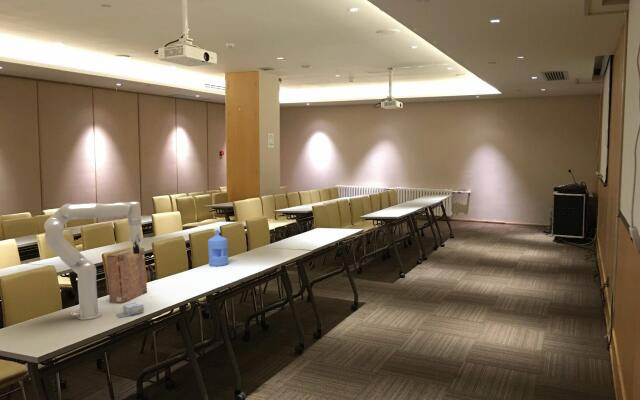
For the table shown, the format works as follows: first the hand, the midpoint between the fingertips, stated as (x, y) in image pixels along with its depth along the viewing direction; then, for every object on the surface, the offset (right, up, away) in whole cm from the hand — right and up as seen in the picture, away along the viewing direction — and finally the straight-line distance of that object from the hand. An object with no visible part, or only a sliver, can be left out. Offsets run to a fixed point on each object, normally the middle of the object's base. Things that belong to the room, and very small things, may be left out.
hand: (136, 253), depth 306 cm
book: (-13, -31, +24) cm, 42 cm away
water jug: (+26, -21, +117) cm, 122 cm away
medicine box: (-2, -30, -7) cm, 31 cm away
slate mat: (0, -33, -12) cm, 35 cm away
